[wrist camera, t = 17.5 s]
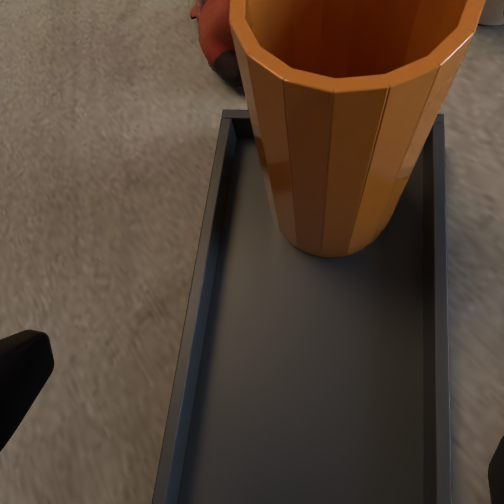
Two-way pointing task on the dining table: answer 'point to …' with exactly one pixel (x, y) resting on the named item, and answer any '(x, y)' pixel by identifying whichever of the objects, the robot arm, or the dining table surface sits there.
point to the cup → (492, 13)
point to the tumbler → (344, 105)
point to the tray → (311, 352)
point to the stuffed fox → (217, 37)
